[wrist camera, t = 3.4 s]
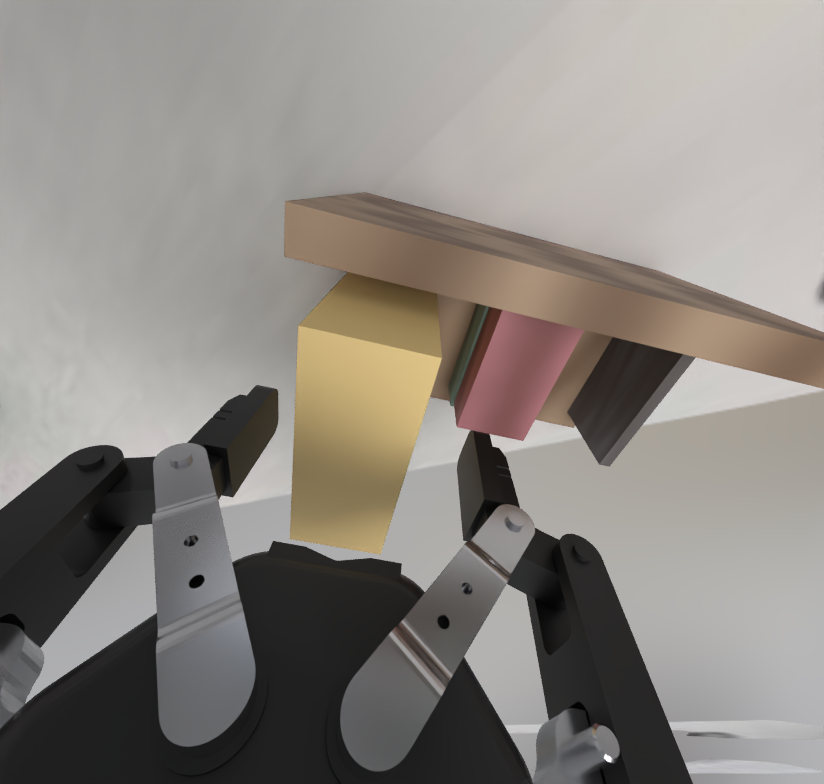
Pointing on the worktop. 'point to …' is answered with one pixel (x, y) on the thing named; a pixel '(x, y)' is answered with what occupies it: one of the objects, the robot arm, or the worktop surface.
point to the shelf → (547, 319)
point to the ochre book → (359, 408)
